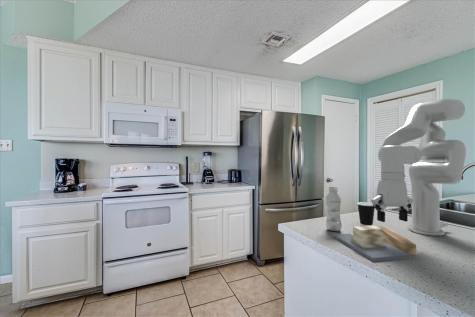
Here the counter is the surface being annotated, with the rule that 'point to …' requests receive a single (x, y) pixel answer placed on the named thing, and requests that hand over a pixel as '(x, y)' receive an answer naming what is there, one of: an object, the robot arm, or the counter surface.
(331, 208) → the plastic bottle
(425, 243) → the counter surface
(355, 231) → the stepped block
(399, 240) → the oak bar
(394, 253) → the slate board
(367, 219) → the dixie cup
